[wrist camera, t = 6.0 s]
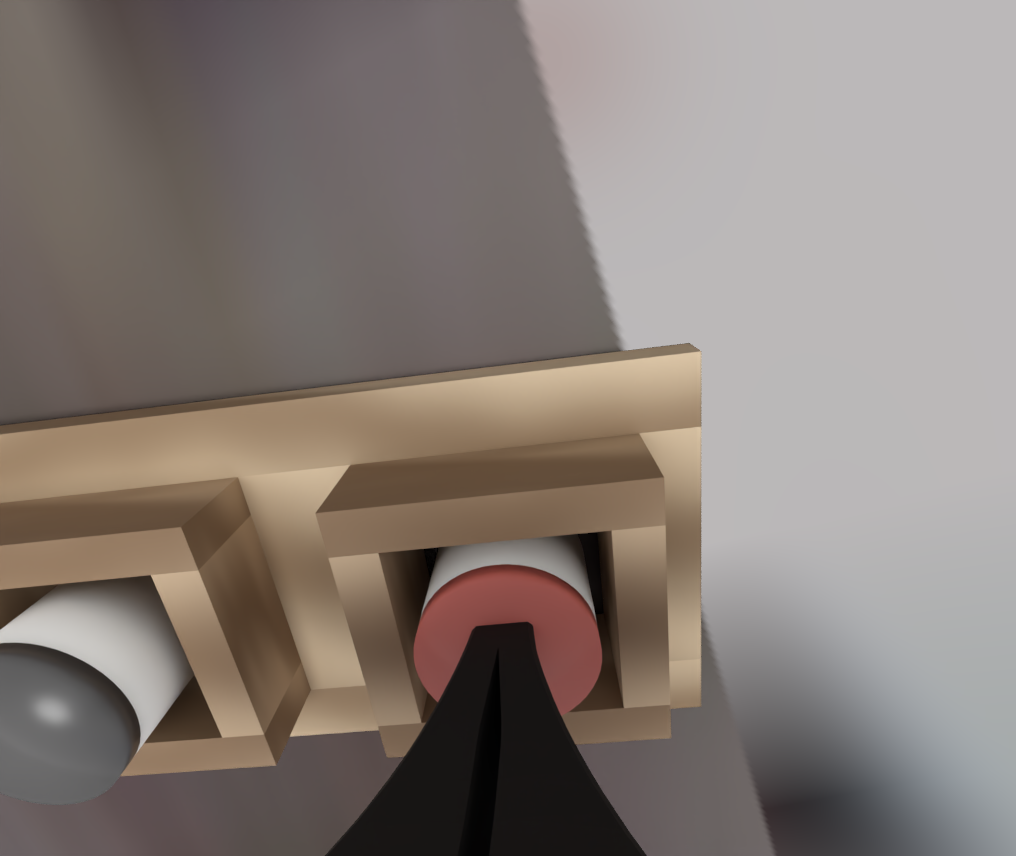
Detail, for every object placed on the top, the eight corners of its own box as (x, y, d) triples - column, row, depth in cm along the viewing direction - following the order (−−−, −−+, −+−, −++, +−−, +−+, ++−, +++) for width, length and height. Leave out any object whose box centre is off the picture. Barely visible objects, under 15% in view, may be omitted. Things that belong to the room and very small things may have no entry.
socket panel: (691, 681, 18) (730, 785, 15) (90, 727, 20) (1, 831, 16) (689, 343, 14) (742, 380, 11) (-72, 434, 15) (-239, 492, 12)
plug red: (589, 614, 16) (607, 721, 13) (450, 626, 17) (431, 734, 13) (577, 490, 15) (595, 571, 11) (425, 505, 15) (396, 590, 12)
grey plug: (233, 672, 16) (151, 799, 13) (98, 683, 16) (-20, 810, 13) (184, 550, 15) (74, 655, 11) (35, 565, 15) (-118, 672, 11)
